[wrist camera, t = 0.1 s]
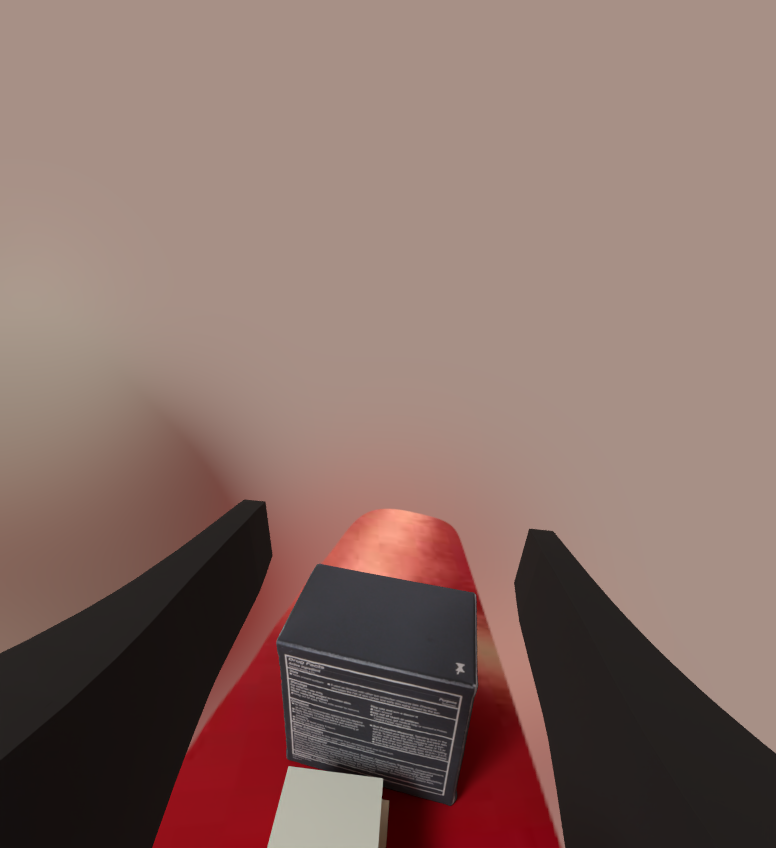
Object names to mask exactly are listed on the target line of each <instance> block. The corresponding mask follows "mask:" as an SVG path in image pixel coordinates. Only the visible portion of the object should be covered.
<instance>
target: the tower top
mask: <svg viewBox="0 0 776 848" xmlns="http://www.w3.org/2000/svg"><path fill="white" fill-rule="evenodd" d="M382 788H383V778H376V777H368V776H360V775H353V774H345V773H337V772H329V771H321V770H314V769H306V768H298V767H290V766H289V767H288V771H287V774H286V778H285V782H284V786H283V790H282V794H281V797H280V801H279V805H278V809H277V813H276V817H275V820H274V824H273V828H272V832H271V836H270V839H269V843H268V847H267V848H378V843H379V829H380V815H381V801H382Z"/></svg>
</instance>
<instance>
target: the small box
mask: <svg viewBox="0 0 776 848" xmlns="http://www.w3.org/2000/svg"><path fill="white" fill-rule="evenodd" d="M476 603H477V601H476V594H475V593H473V592H466V591H461V590H456V589H451V588H445V587H440V586H434V585H428V584H423V583H418V582H412V581H407V580H402V579H396V578H391V577H386V576H380V575H375V574H370V573H364V572H359V571H354V570H349V569H344V568H338V567H333V566H328V565H323V564H317V565H316V567H315V568H314V570H313V572H312V574H311V575H310V577H309V579H308V581H307V583H306V585H305V587H304V589H303V591H302V592H301V594H300V596H299V598H298V600H297V602H296V604H295V606H294V608H293V610H292V611H291V613H290V615H289V617H288V619H287V621H286V623H285V625H284V627H283V629H282V631H281V633H280V635H279V637H278V639H277V642H276V644H277V652H278V655H279V664H280V671H281V680H282V683H281V685H282V697H283V709H284V720H285V733H286V744H287V749H286V755H287V759H288V760H291V761H295V762H299V763H301V764H305V765H308V766H311V767H315V768H318V769H322V770H326V771H329V772H337V773H345V774H353V775H360V776H368V777H376V778H383V787H385V788H388V789H392V790H396V791H399V792H403V793H406V794H410V795H413V796H417V797H420V798H424V799H428V800H432V801H435V802H439V803H443V804H446V805H449V806H451V805H452V804H453V803H454V802H455V801H456V800H457V791H456V789H457V783H458V778H459V773H460V769H461V764H462V759H463V755H464V750H465V743H466V739H467V733H468V728H469V723H470V718H471V713H472V708H473V703H474V697H475V695H476V692H477V689H478V676H477V672H478V670H477V615H476V613H477V608H476Z"/></svg>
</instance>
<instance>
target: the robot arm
mask: <svg viewBox="0 0 776 848" xmlns="http://www.w3.org/2000/svg"><path fill="white" fill-rule="evenodd" d="M271 558H272V549H271V541H270V533H269V526H268V518H267V511H266V503H265V502H263V501H252V500H243V501H242V502H240V503H239V504H238V505H236V506H235V507H234V508H232V509H231V510H230V511H228V512H227V513H226V514H224V515H223V516H222V517H221V518H219V519H218V520H217V521H216V522H214V523H213V524H211V525H210V526H209V527H208V528H206V529H205V530H204V531H202V532H201V533H200V534H198V535H197V536H196V537H194V538H193V539H192V540H190V541H189V542H188V543H186V544H185V545H184V546H182V547H181V548H180V549H178V550H177V551H175V552H174V553H172V554H171V555H169V556H168V557H167V558H165V559H164V560H162V561H161V562H159V563H158V564H156V565H155V566H154V567H152V568H151V569H149V570H148V571H146V572H145V573H143V574H142V575H141V576H139V577H137V578H136V579H135V580H133V581H131V582H130V583H128V584H127V585H125V586H123V587H122V588H120V589H119V590H117V591H115V592H114V593H112V594H110V595H109V596H107V597H105V598H104V599H102V600H100V601H98V602H97V603H95V604H94V605H92V606H90V607H89V608H87V609H85V610H83V611H81V612H80V613H78V614H76V615H74V616H72V617H70V618H68V619H66V620H64V621H62V622H61V623H59V624H57V625H55V626H53V627H51V628H49V629H47V630H46V631H44V632H42V633H40V634H38V635H36V636H34V637H32V638H31V639H29V640H27V641H25V642H23V643H21V644H19V645H17V646H14V647H12V648H10V649H8V650H6V651H4V652H2V653H0V848H152V846H153V843H154V841H155V838H156V835H157V832H158V829H159V826H160V824H161V821H162V818H163V815H164V812H165V810H166V807H167V804H168V801H169V798H170V795H171V793H172V790H173V787H174V784H175V781H176V779H177V776H178V774H179V771H180V768H181V766H182V763H183V760H184V758H185V755H186V752H187V750H188V747H189V744H190V742H191V739H192V736H193V734H194V731H195V729H196V726H197V724H198V721H199V718H200V716H201V714H202V711H203V709H204V706H205V704H206V701H207V698H208V696H209V694H210V691H211V689H212V687H213V685H214V682H215V680H216V678H217V676H218V674H219V672H220V670H221V668H222V665H223V664H224V661H225V660H226V658H227V656H228V654H229V651H230V650H231V648H232V646H233V644H234V642H235V640H236V637H237V636H238V634H239V632H240V630H241V628H242V626H243V624H244V622H245V620H246V618H247V616H248V614H249V612H250V610H251V608H252V606H253V604H254V602H255V600H256V597H257V596H258V594H259V591H260V589H261V586H262V584H263V581H264V578H265V576H266V573H267V570H268V567H269V564H270V561H271ZM514 585H515V592H516V601H517V608H518V615H519V622H520V626H521V630H522V634H523V638H524V642H525V646H526V650H527V654H528V658H529V662H530V666H531V670H532V674H533V678H534V681H535V685H536V689H537V693H538V697H539V701H540V705H541V709H542V713H543V717H544V722H545V726H546V731H547V736H548V741H549V746H550V752H551V759H552V764H553V770H554V777H555V782H556V789H557V795H558V802H559V808H560V815H561V821H562V828H563V835H564V841H565V848H776V753H774V752H773V751H772V750H771V749H769V748H768V747H767V746H766V745H764V744H763V743H762V742H761V741H760V740H758V739H757V738H756V737H755V736H753V735H752V734H751V733H750V732H749V731H748V730H746V729H745V728H744V727H743V726H742V725H740V724H739V723H738V722H737V721H736V720H735V719H733V718H732V717H731V716H730V715H729V714H728V713H726V712H725V711H724V710H723V709H722V708H720V707H719V706H718V705H717V704H716V703H715V702H713V701H712V700H711V699H710V698H709V697H708V696H707V695H706V694H705V693H703V692H702V691H701V690H700V689H699V688H698V687H697V686H696V685H695V684H694V683H693V682H692V681H690V680H689V679H688V678H687V677H686V676H685V675H684V674H683V673H682V672H681V671H680V670H679V669H678V668H677V667H675V666H674V665H673V664H672V663H671V662H670V661H669V660H668V659H667V658H666V657H665V656H664V655H663V654H662V653H661V652H660V651H659V650H658V649H657V648H656V647H655V646H654V645H653V644H652V643H651V642H650V641H649V640H648V639H647V638H646V637H645V636H644V635H643V634H642V633H641V632H640V631H639V630H638V629H637V628H636V627H635V626H634V625H633V624H632V622H631V621H630V620H628V618H627V617H626V616H625V615H624V614H623V613H622V612H621V611H620V610H619V608H618V607H617V606H616V605H615V604H614V603H613V602H612V601H611V600H610V598H609V597H608V596H607V595H606V594H605V593H604V592H603V590H602V589H601V588H600V587H599V586H598V585H597V584H596V582H595V581H594V580H593V579H592V578H591V577H590V576H589V574H588V573H587V572H586V571H585V569H584V568H583V567H582V566H581V565H580V563H579V562H578V561H577V560H576V558H575V557H574V556H573V555H572V554H571V552H570V551H569V550H568V549H567V548H566V546H565V545H564V544H563V543H562V541H561V540H560V539H559V538H558V537H557V535H556V534H555V533H554V532H553V531H546V530H537V529H529V531H528V536H527V539H526V542H525V546H524V549H523V553H522V557H521V560H520V564H519V568H518V571H517V575H516V579H515V582H514Z"/></svg>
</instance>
